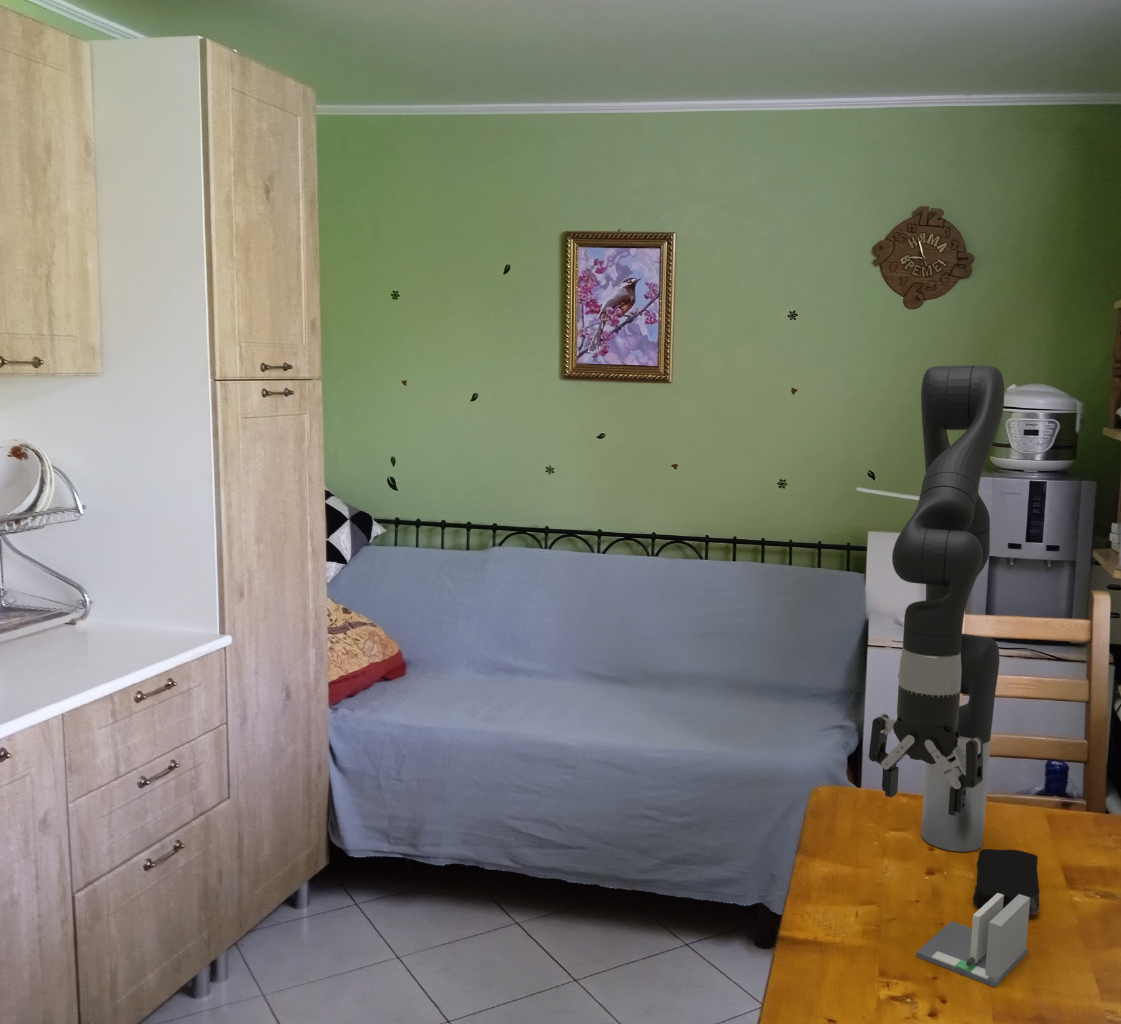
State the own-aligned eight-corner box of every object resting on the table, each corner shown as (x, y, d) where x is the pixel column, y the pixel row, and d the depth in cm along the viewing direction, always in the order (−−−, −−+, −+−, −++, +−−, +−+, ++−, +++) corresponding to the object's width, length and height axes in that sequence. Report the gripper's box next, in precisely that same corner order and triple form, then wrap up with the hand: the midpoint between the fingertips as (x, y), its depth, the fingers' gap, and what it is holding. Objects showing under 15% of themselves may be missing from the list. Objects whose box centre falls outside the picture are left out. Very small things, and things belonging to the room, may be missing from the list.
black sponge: (1038, 925, 148) (1041, 900, 148) (972, 913, 151) (973, 887, 151) (1036, 875, 163) (1038, 852, 163) (976, 864, 166) (977, 841, 166)
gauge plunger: (994, 936, 142) (997, 892, 141) (1000, 938, 141) (1003, 894, 141) (965, 964, 135) (968, 918, 134) (971, 967, 134) (975, 921, 134)
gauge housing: (951, 924, 147) (955, 871, 146) (1027, 952, 141) (1032, 896, 140) (915, 956, 139) (919, 899, 138) (995, 987, 133) (1000, 927, 132)
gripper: (996, 689, 139) (987, 811, 141) (889, 666, 148) (883, 781, 150) (973, 702, 133) (964, 829, 135) (864, 678, 142) (857, 797, 145)
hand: (921, 804), depth 143 cm, fingers open, 8 cm apart
